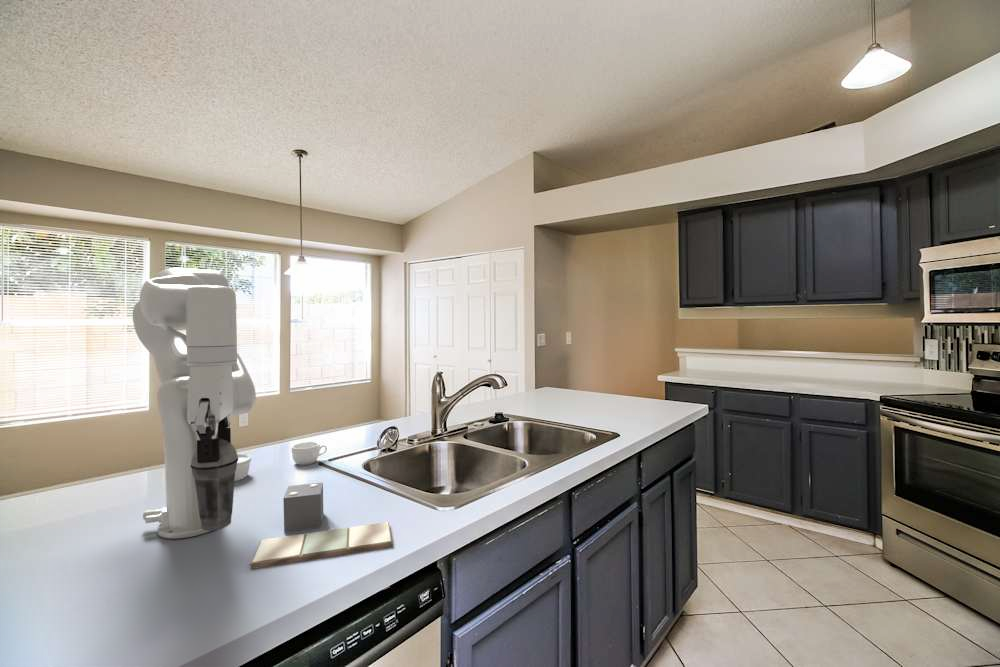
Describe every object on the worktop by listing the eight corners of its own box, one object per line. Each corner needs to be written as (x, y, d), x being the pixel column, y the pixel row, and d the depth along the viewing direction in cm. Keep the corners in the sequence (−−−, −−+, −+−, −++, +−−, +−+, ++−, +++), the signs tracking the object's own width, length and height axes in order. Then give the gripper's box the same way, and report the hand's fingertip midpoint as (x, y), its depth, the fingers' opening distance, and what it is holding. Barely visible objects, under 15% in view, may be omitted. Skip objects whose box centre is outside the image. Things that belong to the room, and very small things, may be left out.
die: (284, 532, 92) (283, 497, 92) (289, 517, 98) (288, 485, 98) (321, 527, 94) (320, 493, 94) (323, 513, 101) (322, 481, 100)
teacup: (294, 468, 131) (294, 450, 131) (289, 461, 137) (289, 444, 137) (330, 462, 137) (329, 444, 137) (323, 456, 143) (323, 439, 143)
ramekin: (260, 473, 128) (260, 455, 127) (227, 487, 117) (227, 467, 117) (228, 470, 130) (227, 452, 130) (193, 484, 119) (192, 464, 119)
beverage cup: (247, 515, 85) (245, 410, 84) (225, 534, 78) (222, 420, 76) (208, 515, 85) (205, 410, 84) (182, 534, 78) (178, 420, 76)
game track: (250, 568, 78) (250, 563, 78) (261, 544, 87) (261, 539, 87) (392, 546, 86) (392, 541, 86) (389, 525, 94) (388, 521, 94)
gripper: (203, 351, 87) (206, 443, 88) (168, 361, 70) (171, 474, 71) (247, 351, 89) (249, 440, 90) (223, 360, 73) (225, 469, 73)
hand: (215, 454), depth 81 cm, fingers closed on beverage cup, 6 cm apart
